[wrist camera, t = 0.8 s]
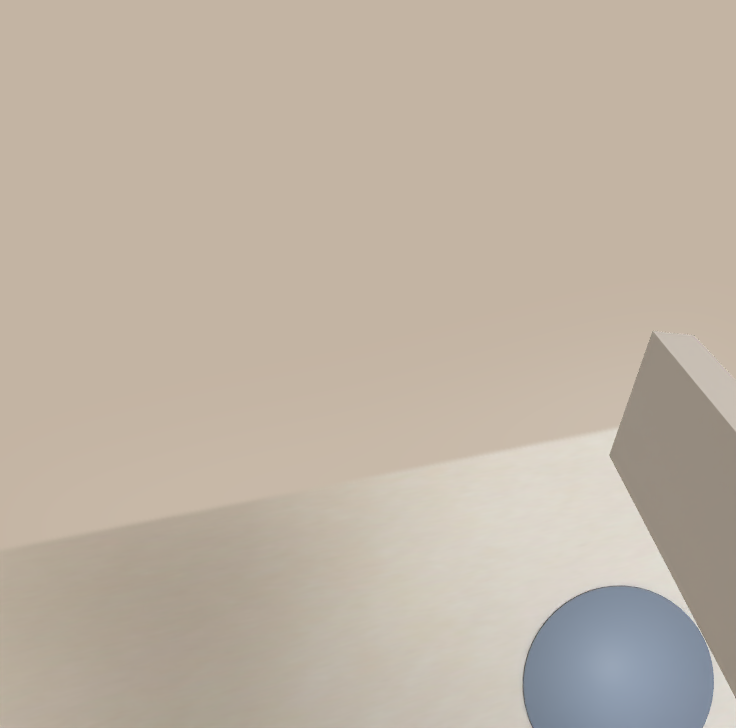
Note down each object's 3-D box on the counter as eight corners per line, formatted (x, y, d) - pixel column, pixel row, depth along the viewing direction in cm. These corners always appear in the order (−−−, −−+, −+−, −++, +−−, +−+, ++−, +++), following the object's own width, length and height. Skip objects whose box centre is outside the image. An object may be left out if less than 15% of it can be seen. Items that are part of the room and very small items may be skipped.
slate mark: (748, 705, 47) (749, 707, 47) (592, 817, 47) (593, 819, 46) (644, 548, 47) (645, 548, 47) (485, 658, 46) (486, 660, 46)
